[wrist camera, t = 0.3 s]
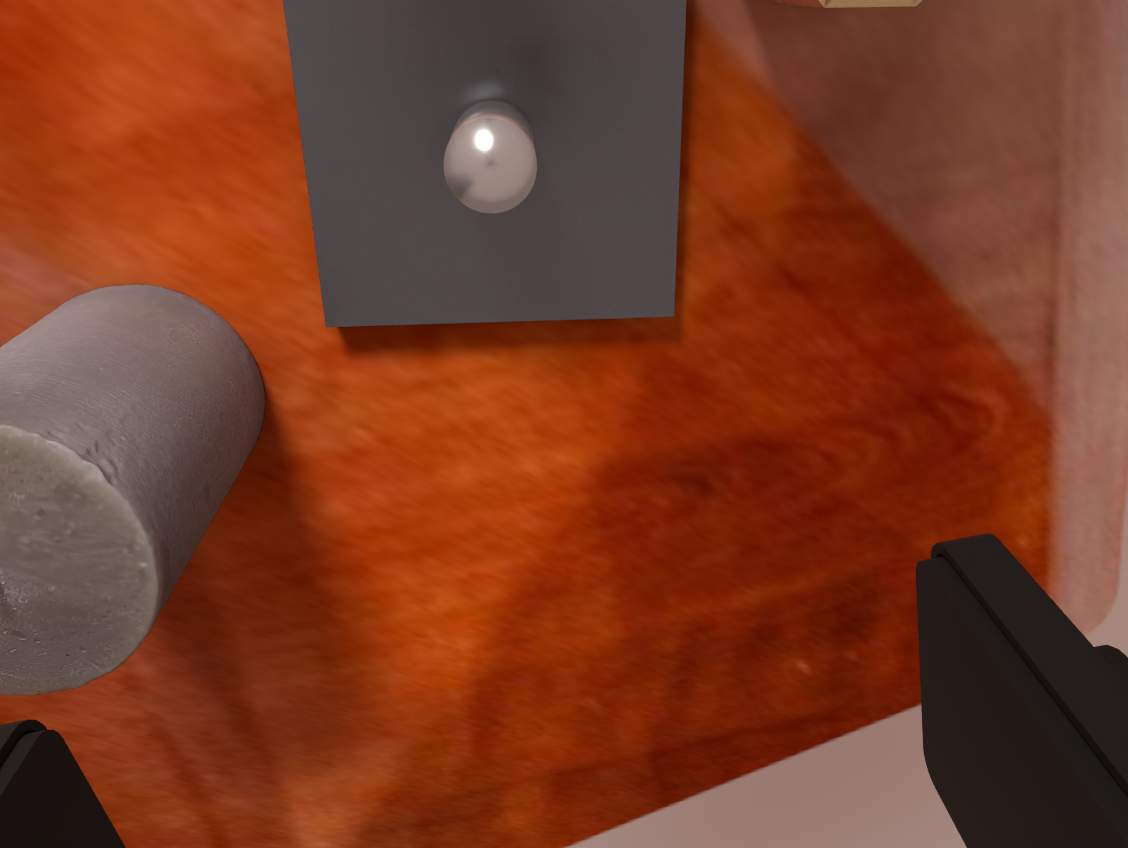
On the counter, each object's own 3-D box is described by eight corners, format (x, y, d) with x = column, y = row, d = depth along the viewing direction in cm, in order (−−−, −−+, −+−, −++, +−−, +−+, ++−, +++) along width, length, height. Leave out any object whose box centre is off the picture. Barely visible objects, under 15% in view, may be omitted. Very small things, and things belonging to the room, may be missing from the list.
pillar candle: (207, 524, 42) (70, 774, 29) (-6, 420, 40) (-268, 643, 26) (307, 356, 39) (206, 548, 26) (83, 231, 37) (-162, 373, 23)
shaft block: (284, -67, 32) (233, -77, 27) (681, -73, 33) (718, -84, 27) (332, 314, 38) (300, 375, 33) (668, 305, 39) (696, 362, 33)
